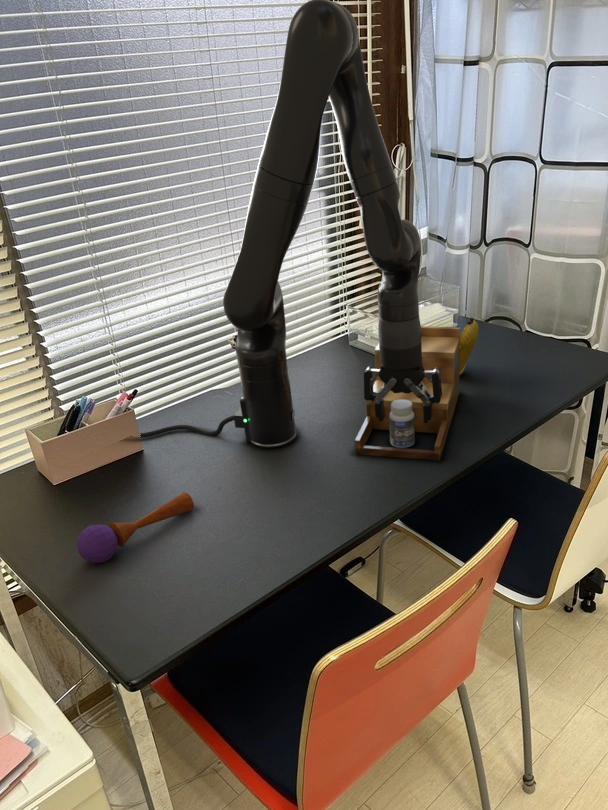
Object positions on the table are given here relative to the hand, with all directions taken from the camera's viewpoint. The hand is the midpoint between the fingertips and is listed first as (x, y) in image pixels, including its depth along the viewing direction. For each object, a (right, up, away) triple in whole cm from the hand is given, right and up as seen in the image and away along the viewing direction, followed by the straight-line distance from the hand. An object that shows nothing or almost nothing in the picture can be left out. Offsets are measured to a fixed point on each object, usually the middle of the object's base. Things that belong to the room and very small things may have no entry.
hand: (404, 420), depth 134 cm
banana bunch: (+14, +12, +27) cm, 32 cm away
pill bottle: (0, -4, +3) cm, 5 cm away
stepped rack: (+2, 0, +9) cm, 10 cm away
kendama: (-45, -20, -18) cm, 52 cm away
